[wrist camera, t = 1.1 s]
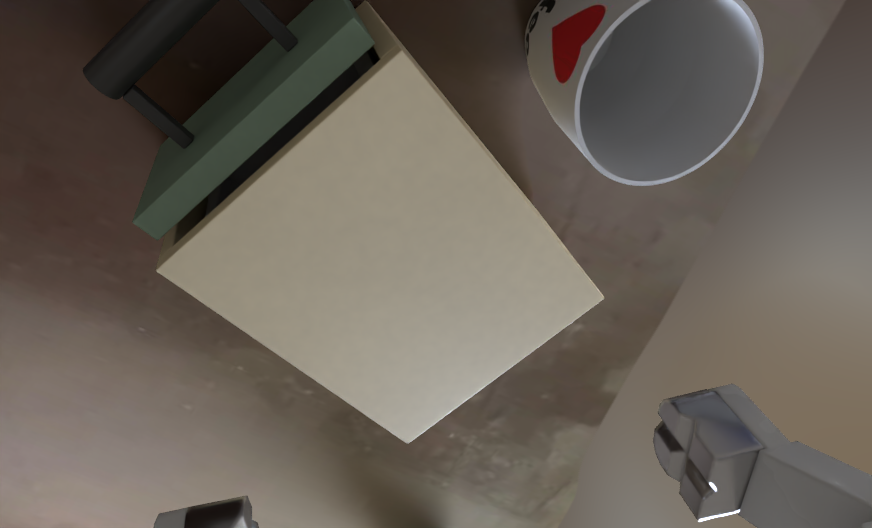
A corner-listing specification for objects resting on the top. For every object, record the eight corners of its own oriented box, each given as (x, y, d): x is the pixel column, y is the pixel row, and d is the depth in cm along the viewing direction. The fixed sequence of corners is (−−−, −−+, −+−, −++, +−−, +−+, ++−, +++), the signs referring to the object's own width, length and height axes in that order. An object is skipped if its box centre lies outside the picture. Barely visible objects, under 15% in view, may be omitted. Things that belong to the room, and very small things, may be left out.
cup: (606, -87, 30) (733, -66, 22) (662, 52, 35) (784, 111, 27) (468, 16, 31) (540, 72, 23) (539, 137, 36) (620, 220, 28)
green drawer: (73, 75, 28) (15, 139, 22) (256, -112, 26) (253, -102, 19) (359, 309, 38) (378, 399, 32) (507, 190, 36) (559, 261, 30)
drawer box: (181, 169, 32) (154, 270, 24) (365, -1, 30) (401, 49, 22) (379, 330, 41) (407, 444, 33) (535, 207, 38) (605, 298, 31)
